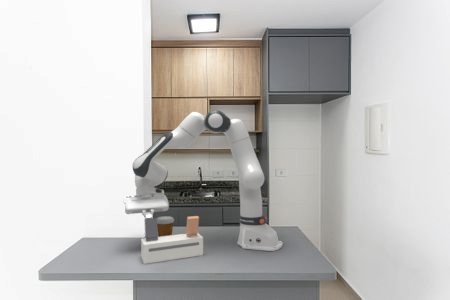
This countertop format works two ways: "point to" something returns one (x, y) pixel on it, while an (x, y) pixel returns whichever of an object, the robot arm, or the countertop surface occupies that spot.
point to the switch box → (171, 248)
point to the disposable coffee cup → (165, 225)
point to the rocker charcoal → (151, 229)
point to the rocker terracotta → (192, 225)
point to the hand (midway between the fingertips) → (148, 219)
